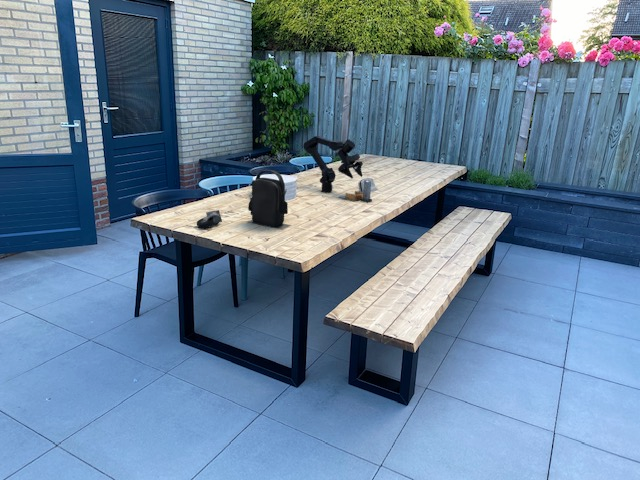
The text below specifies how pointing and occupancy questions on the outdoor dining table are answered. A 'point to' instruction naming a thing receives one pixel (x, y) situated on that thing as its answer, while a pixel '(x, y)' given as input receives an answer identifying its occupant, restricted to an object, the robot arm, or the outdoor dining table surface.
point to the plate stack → (289, 184)
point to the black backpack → (268, 201)
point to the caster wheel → (209, 220)
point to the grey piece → (366, 191)
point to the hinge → (361, 185)
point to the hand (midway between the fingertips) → (357, 177)
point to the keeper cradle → (353, 196)
